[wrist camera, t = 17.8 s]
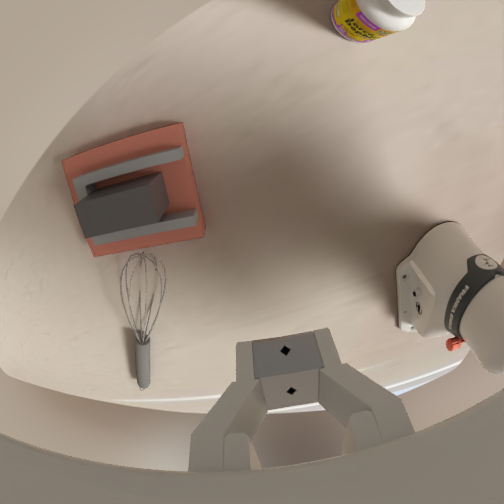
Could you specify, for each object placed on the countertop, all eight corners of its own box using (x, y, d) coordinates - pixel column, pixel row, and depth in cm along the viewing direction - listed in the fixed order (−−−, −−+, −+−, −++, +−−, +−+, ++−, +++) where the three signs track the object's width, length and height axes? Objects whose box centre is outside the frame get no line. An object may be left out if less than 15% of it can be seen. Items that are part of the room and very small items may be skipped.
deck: (205, 227, 39) (201, 246, 34) (102, 247, 39) (86, 266, 34) (182, 122, 32) (173, 125, 27) (72, 156, 33) (51, 165, 28)
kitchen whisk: (131, 381, 54) (125, 405, 48) (131, 238, 39) (116, 260, 34) (159, 387, 55) (154, 411, 49) (172, 246, 40) (162, 270, 35)
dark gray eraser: (169, 203, 34) (157, 222, 28) (105, 218, 34) (85, 238, 29) (161, 171, 32) (147, 185, 26) (96, 188, 32) (73, 205, 27)
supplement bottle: (323, 31, 27) (364, 0, 16) (335, -8, 24) (377, -46, 13) (371, 52, 28) (428, 37, 17) (382, 14, 25) (437, -11, 14)
